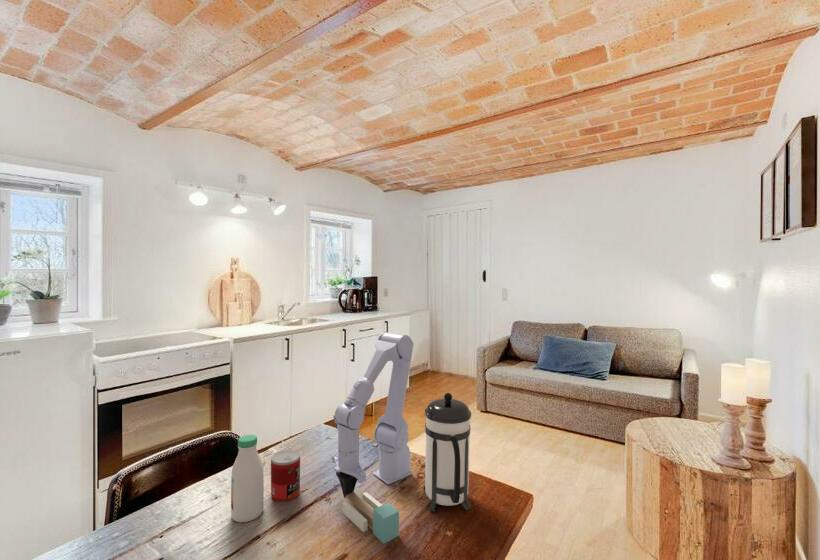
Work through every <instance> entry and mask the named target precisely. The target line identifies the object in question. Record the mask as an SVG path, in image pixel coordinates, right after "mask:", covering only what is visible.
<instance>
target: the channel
mask: <svg viewBox="0 0 820 560" xmlns="http://www.w3.org/2000/svg"><path fill="white" fill-rule="evenodd" d="M361 498H362V499H363V500H364V501H365V502H366V503H368V504H369V505H370V506H371V507H372V508H373V509H375V508H377V507H379V506H381V505H383V504H382V503H381V502H380V501H378V500H377V499H375V498H374V496H373V495H371V494H370V493H368V492H367V491H365V492H363V493H362V497H361ZM341 513H342V514H343V515H344V516H345V517H346V518H348V519H349V520H350V522H352V523H353V524H354V525H355V526H356V527H357V528H358V529H359V530H360V531H362V533H365V532H367V531H368V525H367V519H366V518H365V517H363V516H362V515H361V514H360V513H359V512H358V511H357V510H356V509H354V508H353V507H352V506H351V505H350V504H349V503H348V502H347V501H345V500H344V501H343V502H341Z"/></svg>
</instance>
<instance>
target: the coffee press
mask: <svg viewBox="0 0 820 560" xmlns="http://www.w3.org/2000/svg"><path fill="white" fill-rule="evenodd" d="M471 411H472V410H470V408H469V406H468V405H467V404H466V403H464V402H463V401H462V400H458V399H456V398H453V396H452V394H451V393H450V392H446V393H444V395H443V398H438V399H437V398H436V399H434V400H432V401H431V402H429V403H428V404H427V406H426V407H425V409H424V416H425V423H424V432H425V464H424V466H425V468H424V469H425V471H424V472H425V473H424V481H425V482H424V486H423V490H424V492H425V494H426V496H427V497H428V499H429V500H430V505H429V507H428V510H429V511H430V512H432V513H436V511H437V509H438V508H439V505H441V506H449V507H451V506H457V505H459V504H460V505H461V506H462V508H463V509H464V510H465V511H466V510H467V511H470V509H471V508H472V504H471V502H470V500H469V497H468V495H469V485H470V484H469V478H470V476H469V475H470V471H469V470H470V468H469V467H470V435H471V424H470V423H471V422H470V421H471V418H472V412H471Z"/></svg>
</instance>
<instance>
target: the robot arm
mask: <svg viewBox="0 0 820 560" xmlns="http://www.w3.org/2000/svg"><path fill="white" fill-rule="evenodd" d="M374 345H375V351H374V354H373V355H372V358H371V361H370V363H369V364H368V366H367V368H366V371H365V373H364V375H363V377H362V378H360V379H357V380H356V381H355V383H354V384H353V386H352V388H351V390H350V392H349V394H348V395H347V397H346V399H345V400H344V402H343V403H341V404H340V405H338V406H337V408H336V409H335V411H334V415H333V421H334V422H335V423H336V429H337V432H338V433H337V453H335V454H332V457H331V458H332V459H331V460H332V463H334V464H335V466H334V468H333V469H334V471H335V475H336V477H337V479H338V482H339V483H340V487H341V490H342V496H343V498H344V499H345V500H346V495H348V494H350V493H352V492H355V488H356V485H357V482H358V483H359V484H362V483H364V482H366V481H367V473H366V472H365V471H364V469H363V467H362V465H361V463H360V427H361V426H362V423H364V420H365V413H366V407H367V405H368V402H369V400H370V399H371V398H372V395H373V393H374V392H375V386H374V383H375V382H376V380H377V378H378V377H379V376H380V374H381V372H382V371H383V369H384V367H386V365H387V363H388V362H390V361H391V362H392V369H391V376H390V382H389V388H388V394H387V400H386V405H385V413H384V414H382V415H381V416H380V417H378V419H377V423H376V426H375V428H374V432H373V438H374V441H375V442H377V446H378V447H379V448H378V469H377V470H375V471H373V473H372V475H374V476H375V477H377V478H378V479H379V480H381V481H382V482H384V483H385V484H386V485H390V484H393V483H395V482H397V481H401V480H402V479H404V478H407V477H408V476H411V475H412V471H411V449H410V448H409V446H408V442H409V431H408V429H409V424H408V422H407V421H406V419H405V418H404V417H403V412H404V407H405V399H406V394H407V386H408V380H409V374H410V368H411V363H412V356H413V351H414V350H413V348H414V345H415V344H414V341H413V339H412V338H411V336H409V335H407V334H399V333H394V332H389V331H383V332H381V333H380V334H379V336H378V338H377V340H376V342H375V344H374Z"/></svg>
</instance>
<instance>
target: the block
mask: <svg viewBox="0 0 820 560" xmlns="http://www.w3.org/2000/svg"><path fill="white" fill-rule="evenodd" d="M399 522H400V511H399V510H398V509H397V508H396V507H394V506H393V505H392V504H391V503H389V502H385V503H383V504H382V505H381V506H379V507H377V508H375V509H373V530H372V534H373V535H374V537H376V538H377V539H378V540H379V541H380V542H381V543H382V544H383V545H385V544H387V543H388V542H390V541H391V540H394V539H395V538H397V537H398V536H400V535H399V533H400V531H399V529H400V528H399V527H400V526H399V524H400V523H399Z"/></svg>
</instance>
